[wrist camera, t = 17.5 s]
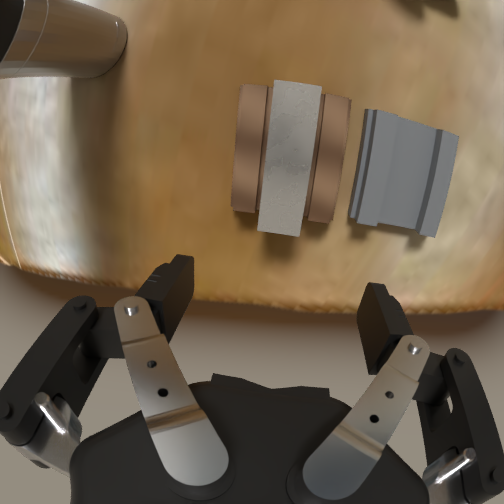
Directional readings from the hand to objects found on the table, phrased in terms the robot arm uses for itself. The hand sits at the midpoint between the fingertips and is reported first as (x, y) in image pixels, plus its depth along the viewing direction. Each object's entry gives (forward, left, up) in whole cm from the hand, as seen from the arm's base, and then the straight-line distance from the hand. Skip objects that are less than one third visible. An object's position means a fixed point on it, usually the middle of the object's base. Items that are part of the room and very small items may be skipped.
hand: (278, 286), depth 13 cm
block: (0, +3, -18) cm, 19 cm away
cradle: (0, +4, -20) cm, 21 cm away
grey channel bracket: (+13, +4, -20) cm, 24 cm away
